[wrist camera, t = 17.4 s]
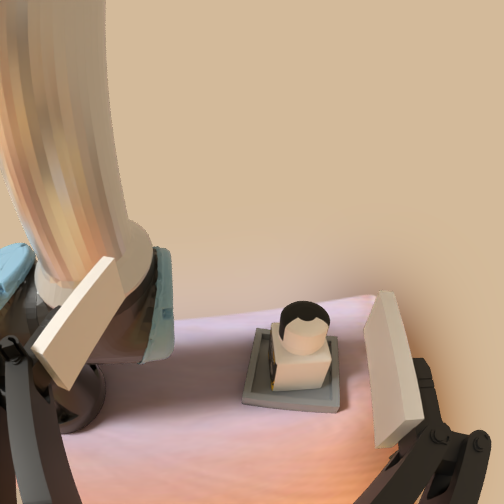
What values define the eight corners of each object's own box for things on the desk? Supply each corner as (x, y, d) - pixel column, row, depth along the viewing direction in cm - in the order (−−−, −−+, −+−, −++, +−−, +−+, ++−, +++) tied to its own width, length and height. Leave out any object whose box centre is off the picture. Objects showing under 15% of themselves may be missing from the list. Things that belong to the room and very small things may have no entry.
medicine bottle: (267, 353, 44) (273, 294, 37) (312, 351, 44) (328, 293, 38) (271, 392, 38) (280, 337, 31) (321, 389, 38) (342, 334, 32)
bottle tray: (241, 404, 37) (242, 397, 36) (256, 336, 48) (256, 328, 47) (336, 413, 35) (339, 406, 34) (334, 344, 46) (337, 336, 45)
